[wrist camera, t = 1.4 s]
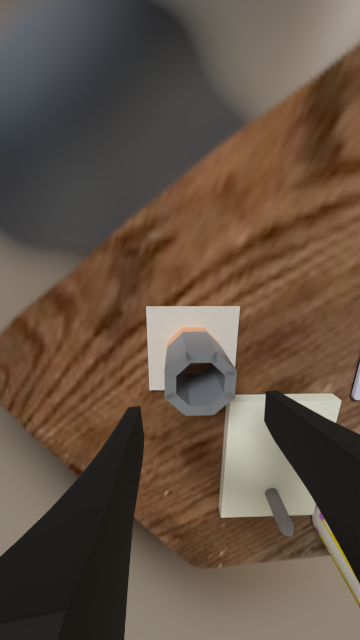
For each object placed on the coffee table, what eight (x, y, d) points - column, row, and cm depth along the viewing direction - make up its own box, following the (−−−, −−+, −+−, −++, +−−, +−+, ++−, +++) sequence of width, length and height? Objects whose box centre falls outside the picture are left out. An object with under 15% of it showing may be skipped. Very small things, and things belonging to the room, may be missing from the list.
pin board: (332, 393, 21) (380, 429, 16) (306, 503, 25) (338, 559, 20) (226, 394, 20) (243, 432, 16) (218, 506, 25) (229, 563, 20)
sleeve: (218, 326, 18) (238, 351, 12) (215, 372, 19) (233, 414, 14) (167, 327, 18) (163, 351, 12) (168, 373, 19) (165, 416, 13)
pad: (238, 306, 18) (240, 307, 18) (232, 386, 20) (233, 389, 20) (146, 306, 18) (146, 306, 17) (150, 387, 20) (149, 390, 20)
